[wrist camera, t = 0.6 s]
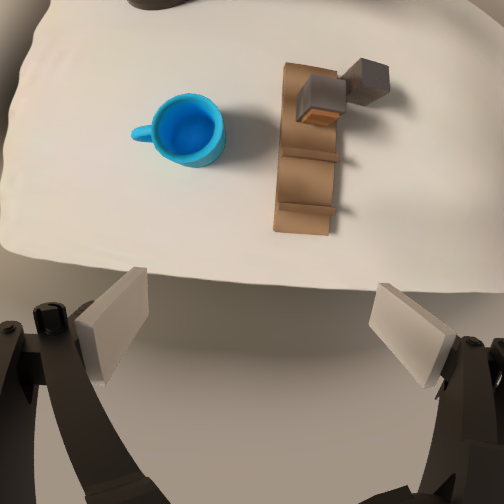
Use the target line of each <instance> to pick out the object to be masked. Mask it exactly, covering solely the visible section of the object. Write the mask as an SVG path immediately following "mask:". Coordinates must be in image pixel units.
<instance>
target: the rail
mask: <svg viewBox="0 0 504 504" xmlns="http://www.w3.org/2000/svg"><path fill="white" fill-rule="evenodd" d="M345 112H346V80H341V79H337V71H334V70H329V69H324V68H318V67H313V66H307V65H301V64H294V63H287V62H286V63H285V66H284V71H283V91H282V109H281V126H280V142H279V158H278V172H277V186H276V200H275V213H274V226H273V230H274V231H275V232H282V233H297V234H312V235H326V236H328V234H329V224H330V215H335V214H336V208H335V207H331V203H332V192H333V178H334V163H336V162H340V154H335V145H336V120H337V119H339V116H340V115H342V114H343V113H345Z"/></svg>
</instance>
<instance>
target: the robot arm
mask: <svg viewBox="0 0 504 504" xmlns="http://www.w3.org/2000/svg"><path fill="white" fill-rule="evenodd" d="M127 1H128V2H129V3H130V4H131V5H132V6H134V7H136V8H139V9H143V10H159V9H165V8H169V7H173V6H176V5H179V4H181V3H184V2H186V1H188V0H127ZM148 314H149V312H148V291H147V268H140V267H133V268H132V269H131V270H130V271H129V272H127V273H126V274H125V275H124V276H123V277H122V278H121V279H119V280H118V281H117V282H116V283H115V284H114V285H113V286H112V287H110V288H109V289H108V290H107V291H106V292H105V293H104V294H102V295H101V296H100V297H99V298H98V299H97V300H96V301H89V302H87V303H85V304H83V305H82V306H81V307H79V308H78V310H76V311H75V312H74V313H73V314H71V315H70V317H68V318H67V314H66V308H65V306H64V305H63V304H61V303H55V302H49V303H44V304H41V305H39V306H37V307H36V308H34V310H33V315H34V320H35V324H36V329H37V333H38V334H24V331H23V327H22V325H21V323H19V322H17V321H5V322H2V323H1V324H0V504H36V496H35V483H34V482H35V481H34V431H35V417H36V406H37V397H38V389H39V385H47V388H48V392H49V396H50V400H51V404H52V407H53V411H54V414H55V418H56V421H57V424H58V427H59V430H60V433H61V436H62V439H63V442H64V445H65V447H66V450H67V453H68V455H69V458H70V460H71V463H72V465H73V468H74V470H75V472H76V474H77V477H78V479H79V481H80V483H81V486H82V488H83V490H84V492H85V495H86V496H85V500H86V502H87V504H171V503H170V502H169V501H168V500H167V498H166V497H165V496H164V495H163V493H162V492H161V491H160V490H159V488H158V487H157V486H156V485H155V483H154V482H153V481H152V480H151V479H150V478H149V477H145V475H144V474H143V473H142V472H141V470H140V469H139V468H138V466H137V464H136V463H135V462H134V460H133V458H132V457H131V455H130V454H129V452H128V451H127V449H126V448H125V446H124V444H123V443H122V441H121V439H120V438H119V436H118V434H117V432H116V431H115V429H114V427H113V425H112V424H111V422H110V420H109V418H108V416H107V414H106V412H105V411H104V409H103V407H102V405H101V403H100V401H99V399H98V397H97V395H96V393H95V391H94V388H93V386H92V384H91V383H94V384H98V385H102V386H106V384H107V382H108V381H109V379H110V377H111V375H112V374H113V372H114V370H115V369H116V367H117V365H118V363H119V362H120V360H121V358H122V357H123V355H124V353H125V352H126V350H127V348H128V347H129V345H130V343H131V342H132V340H133V338H134V337H135V335H136V334H137V332H138V330H139V329H140V327H141V326H142V324H143V322H144V321H145V319H146V318H147V316H148ZM369 326H370V327H371V328H372V329H373V330H374V332H375V333H376V334H377V335H378V336H379V337H380V338H381V340H382V341H383V342H384V343H385V344H386V345H387V346H388V348H389V349H390V350H391V351H392V352H393V353H394V354H395V356H396V357H397V358H398V359H399V361H400V362H401V363H402V364H403V365H404V366H405V368H406V369H407V370H408V371H409V372H410V373H411V375H412V376H413V377H414V378H415V379H416V381H417V382H418V383H419V384H420V385H421V387H422V388H429V387H433V386H435V385H436V383H437V380H438V379H439V376H440V375H441V376H442V377H443V378H444V381H443V383H442V385H441V387H440V389H439V391H438V393H437V395H436V397H435V399H437V398H438V397H439V396H440V398H439V405H438V411H437V417H436V423H435V428H434V433H433V438H432V443H431V447H430V451H429V455H428V459H427V463H426V467H425V470H424V474H423V477H422V480H421V483H420V487H419V490H418V492H417V493H411V491H410V490H409V488H408V486H407V485H406V486H403V487H400V488H397V489H394V490H391V491H388V492H385V493H381V494H377V495H375V496H373V497H371V498H369V499H367V500H365V501H363V502H361V503H359V504H504V338H495V339H494V340H493V342H492V345H491V347H490V348H489V347H484V344H483V343H482V341H480V340H478V339H477V338H475V337H470V336H464V337H462V338H460V337H459V336H458V335H457V333H456V332H454V331H453V330H452V329H450V328H449V327H448V326H446V325H445V324H444V323H443V322H441V321H440V320H439V319H437V318H436V317H435V316H433V315H432V314H431V313H429V312H428V311H427V310H425V309H424V308H422V307H421V306H420V305H418V304H417V303H416V302H414V301H413V300H412V299H410V298H409V297H407V296H406V295H405V294H403V293H402V292H401V291H399V290H398V289H396V288H395V287H394V286H392V285H391V284H389V283H378V288H377V292H376V297H375V301H374V306H373V309H372V314H371V317H370V322H369ZM501 375H502V377H501ZM500 377H501V381H500V383H499V385H497V382H498V380H499V379H500Z"/></svg>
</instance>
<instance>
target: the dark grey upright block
mask: <svg viewBox="0 0 504 504" xmlns="http://www.w3.org/2000/svg"><path fill="white" fill-rule="evenodd" d="M341 80H346V102H349V103H354V104H358V105H362V106H366V105H368V104H370V103H371V102H373V101H375V100H377V99H378V98H380V97H382V96H384V95H386V94H387V93H389V92H390V80H389V66H387V65H384V64H381V63H377V62H374V61H371V60H367V59H364V58H360V59H359V60H358V61H357V62H356V63H355V64H354V65H353V66H352V67H351V68H350V69H349V70H348V71H347V72H346V73H345V74H344V75H343V76H342V77H341Z"/></svg>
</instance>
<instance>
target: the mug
mask: <svg viewBox="0 0 504 504" xmlns="http://www.w3.org/2000/svg"><path fill="white" fill-rule="evenodd" d="M131 137H132V139H133V140H136V141H141V142H153V143H154V146H155V148H156V149H157V150H158V151H159V153H160V154H161V155H162V156H164V157H165V158H167V159H169V160H171V161H173V162H176V163H178V164H181V165H183V166H186V167H192V168H197V167H204V166H206V165H208V164H210V163H212V162H213V161H215V160H216V159H217V158H218V157H219V156H220V154H221V152H222V151H223V149H224V146H225V141H226V135H225V128H224V123H223V119H222V115H221V113H220V111H219V109H218V107H217V106H216V105H215V104H214V103H213V102H212V101H211V100H210V99H208V98H206V97H204V96H202V95H198V94H190V93H188V94H182V95H178V96H175V97H173V98H171V99H169V100H168V101H166V102H165V103H164V104H163V105H162V106H161V107H160V108H159V109H158V111H157V113H156V114H155V116H154V117H153V121H152V125H147V126H142V127H138V128H135V129H134V130H133V131H132V133H131Z"/></svg>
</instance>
